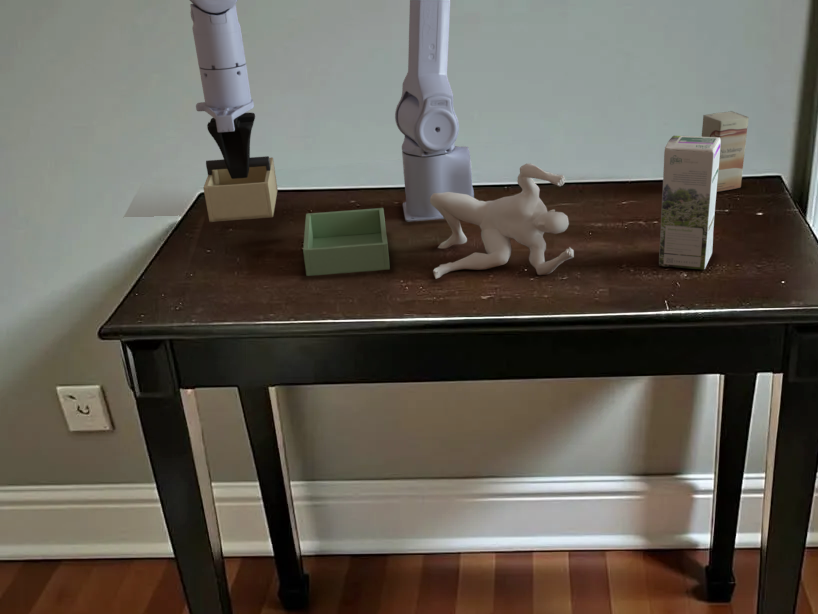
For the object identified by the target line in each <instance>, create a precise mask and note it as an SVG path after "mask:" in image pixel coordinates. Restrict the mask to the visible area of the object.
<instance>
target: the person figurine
mask: <svg viewBox="0 0 818 614" xmlns="http://www.w3.org/2000/svg"><path fill="white" fill-rule="evenodd" d="M516 179H517V180H516V182H517V185H518V186H519V187H520V188H521V192H519V193H516V194H513V195H509V196H503V197H500V198H497V199H494V200H486V201H484V200H479V199H477V198H475V197H474V198H473V197H471V196H469V195H466V194H460V193H453V192H445V193H433V195H432V196H431V198H430V203H431V204H432V206H434V207H435V208H436V209H437V210H438V211H439V212H440V213H441V215H442V216H443V217H444V219H443V220H445V221H446V222H447V225H448V226H449V228H450V231H451V235H450V236H449V237H448V238H447V239H445V240H444V241H442V242H440V243H439V245H438V246H437V249H449V248H450V247H452V246H454V245H455V246H456V245H464V244H467V242H468V238H467V236H466V235H465V233H464V231H463V228H462V225H461V221H462V222H465V223H468V224H472V225H476V226H478V227H479V229H480V230H481V232H480V237H481V241H482V243H483V246H484V250H485V252H486V253H484V252H475V251H474V252H473V253H471V254H469V255H467V256H465V257H462V258H460V259H458V260H456V261H453V262H451V261H450V262H447V263H442V264H439V266H437V267H434V269H433V270H432V273H433V277H434V278H435V280H437V279H439V278H441V277H442V276H443V275H446V274H448V273H451V272H454V271H460V270H475V271H481V270H488V269H492V268H496V267H499V266H503V265H505V264H507V263H508V261H509V259H510V257H511V255H512V251H513V249H512V243H511V239H512V240H515V241H516V242H517V243H518V244H520V245H522V246H525V247H527V248H528V249H529V255H528V262H529V264H530V265H531V266H532V267H533V268H534V269H535V272H536V274H537V275H538V276H546V275H550V274H552V273H553V272H554V271H555V270H556V269H557V268H558V267H559V266H560V265H562V264H564V262H565V261H568V260H570V259H573V258H575V250H574V249H573V248H572V247H571V246H568V248H566V249H565V250H564V251H563V252H561V253H560V254H559V255H558V256H557V257H553V258H552V259H550V260H547V261H546V259H545V252H546V250H547V243H546V240H545V238H544V234H545V233H548V234H554V235H557V234H562V233H564V232H565V231H567V229H568V228H569V225H570V221H569V217H568V215H567V214H566V213H564V212H562V211H556V209H555V208H554V209H550V210H548V207H547V205H545V203H544V202H543V200H542V199H541V198H540V191H541V189H540V187H539V185H537V184H536V183H535V181H534V179H537V180H542V181H547V182H549V183H551V184H552V185H555V186H557V187H563V185H564V184H565V182H566V178H565V176H564V175H563V174H556V173H552V172H549V171H545V170H543V169H542V168H541V167H538V166H537V165H535V164H532V163H531V162H530V163H529V162H528V163H525V164H523V165H521V166H520V167H519V174H518V176H517V178H516Z"/></svg>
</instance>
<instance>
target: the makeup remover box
mask: <svg viewBox="0 0 818 614" xmlns="http://www.w3.org/2000/svg"><path fill="white" fill-rule="evenodd" d="M748 126H749V116H747V115H744V114H741V113H738V112H735V111H733V110H729V111H720V112H719V111H718V112H714V113H707V114H703V115H702V127H701V128H702V129H701V137H719V138H720V139H721V145H720V158H719V169H718V180H717V191H716V193H717V192H718V193H719V192H724V191H729V190H735V189H740V188H741V187H742V179H743V171H744V161H745V153H746V143H747V136H748V135H747V134H748Z"/></svg>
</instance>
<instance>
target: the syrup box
mask: <svg viewBox="0 0 818 614" xmlns="http://www.w3.org/2000/svg"><path fill="white" fill-rule="evenodd" d="M720 145H721V139H720V138H719V137H702V136H695V135H694V136H692V135H673V136H671V137H670V139H669V140H668V141H667V143H666V145H665V146H664V152H663V174H662V175H663V176H662V193H661V213H660V233H659V235H660V238H659V254H658V266H659V267H667V268H679V269H690V270H703V271H704V270H706V267H707V265H708V263H709V261H710V259H711V257H712V255H713V246H714V245H713V244H714V229H715V228H714V226H715V212H716V203H717V201H716V200H717V192H716V191H717V180H718V169H719V158H720Z"/></svg>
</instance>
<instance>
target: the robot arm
mask: <svg viewBox="0 0 818 614" xmlns="http://www.w3.org/2000/svg"><path fill="white" fill-rule="evenodd" d="M189 1H190V2H191V3H190V4H189V6H190V12H189V13H190V18H191V20H192V23H193V24H192V35H193V41H194V47H195V52H196V57H197V63H198V69H199V75H200V81H201V85H202V92H203V100H204V101H202V102H197V103H196V104H195V111H197V112H205V113H207V115H208V116H210V117H212V118H210V119H209V121H208V123H207V125H206V129H207V131H208V133H209V135H210V136H211V137H212V139H213V140H214V142H215V143H216V145H217V147H218V148H219V151H220V153H221V156H222V158H223V159H224V161H225V164H226V166H227V169H228V172H229V174H230V176H231V178H232V179H237V178H247V177H248V173H249V158H251V137H252V131H253V127H254V123H255V121H256V120H255V119H256V113H254V112H249V111H250V110H252V109H254V107H255V102H254V99H253V98H252V95H251V87H250V81H249V73H248V66H247V61H246V60H247V59H246V53H245V46H244V40H243V34H242V28H241V23H240V22H239V17H238V10H237V2H238V0H189ZM450 17H451V0H409V17H408V19H409V21H408V55H407V56H408V57H407V59H408V62H407V63H408V64H407V67H408V68H407V73H406V75H405V78H404V80H403V82H402V86H401V87H402V91H401V92H402V93H401V96H400V99H399V101H398V103H397V105H396V108H395V111H394V120H395V124H396V126H397V128H398V130H399V132H400V133H402V134H403V135H404V139H403V143H402V145H401V155H402V168H403V180H404V181H403V182H404V194H405V195H404V196H405V202H403V203H402V209H403V215H404V220H405V222H408V223H410V222H420V221H421V222H422V221H434V220H445V219H444V217H443V216H442V215H441V213H440V212H439V211H438V210H437V209H436V208H435V207H434V206H432V204H431V203H430V198H431V196H432V195H433V193H445V192H453V193H460V194H466V195H469V196H471V197H473V198H475V192H474V187H473V173H472V172H473V171H472V159H471V152H470V149H469V147H468V146H464V145H463V146H460V145H459V146H458V145H455V143H456V141H457V139H458V137H459V132H460V122H459V119H458V116H457V114H456V112H455V108H454V107H455V106H454V100H455V99H454V92H453V90H452V87H451V83H450V80H449V77H448V64H449V45H450V44H449V43H450V41H449V40H450V21H451V20H450Z"/></svg>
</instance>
